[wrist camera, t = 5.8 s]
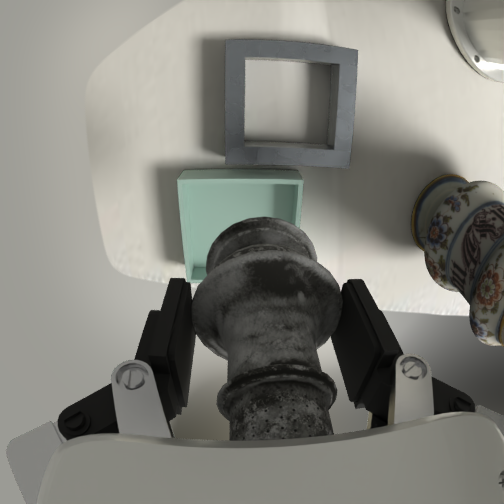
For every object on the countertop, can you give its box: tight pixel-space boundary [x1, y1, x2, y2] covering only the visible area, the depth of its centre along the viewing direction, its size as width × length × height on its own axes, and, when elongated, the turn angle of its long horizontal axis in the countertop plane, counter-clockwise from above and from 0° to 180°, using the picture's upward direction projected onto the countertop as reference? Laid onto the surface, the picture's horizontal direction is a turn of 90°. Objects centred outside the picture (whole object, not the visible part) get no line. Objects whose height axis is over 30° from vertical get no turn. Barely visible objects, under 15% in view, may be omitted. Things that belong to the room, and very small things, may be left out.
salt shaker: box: [191, 216, 343, 441], centre depth 9 cm, size 6×6×12 cm
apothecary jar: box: [411, 174, 504, 346], centre depth 22 cm, size 12×12×18 cm
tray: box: [177, 169, 304, 283], centre depth 29 cm, size 10×10×3 cm
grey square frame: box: [225, 39, 358, 168], centre depth 23 cm, size 10×10×2 cm
